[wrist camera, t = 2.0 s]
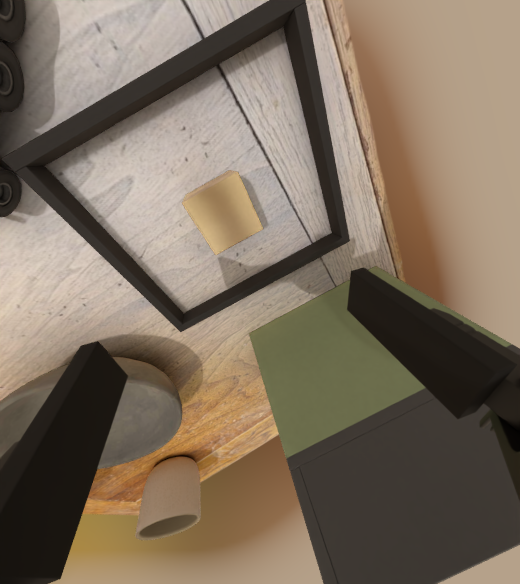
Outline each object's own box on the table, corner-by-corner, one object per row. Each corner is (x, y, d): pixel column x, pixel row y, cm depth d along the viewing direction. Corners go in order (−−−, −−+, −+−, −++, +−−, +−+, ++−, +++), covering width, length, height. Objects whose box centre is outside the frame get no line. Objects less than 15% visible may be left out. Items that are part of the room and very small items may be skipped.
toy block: (229, 169, 22) (237, 171, 17) (251, 217, 25) (263, 229, 21) (185, 195, 22) (181, 203, 18) (212, 239, 25) (215, 255, 21)
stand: (375, 265, 34) (512, 343, 19) (382, 322, 43) (479, 407, 28) (248, 333, 35) (286, 458, 20) (279, 376, 43) (322, 485, 29)
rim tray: (289, 2, 17) (302, -20, 15) (339, 235, 29) (349, 241, 27) (23, 159, 18) (0, 158, 16) (181, 320, 30) (180, 332, 28)
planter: (136, 475, 50) (122, 544, 41) (164, 448, 47) (156, 516, 38) (182, 476, 56) (179, 536, 47) (210, 453, 53) (212, 512, 44)
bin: (512, 343, 19) (707, 456, 12) (479, 407, 28) (581, 495, 20) (286, 458, 20) (337, 630, 13) (322, 485, 29) (365, 598, 21)
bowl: (64, 306, 25) (15, 357, 18) (209, 358, 36) (212, 402, 29) (7, 406, 30) (-46, 473, 24) (148, 425, 41) (138, 475, 34)
